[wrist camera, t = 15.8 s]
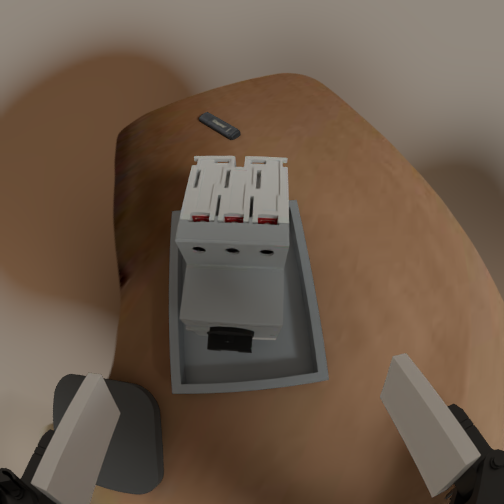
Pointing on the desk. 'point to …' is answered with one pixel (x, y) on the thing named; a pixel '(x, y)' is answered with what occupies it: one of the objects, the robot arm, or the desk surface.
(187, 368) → the tray
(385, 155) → the desk surface
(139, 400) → the media streaming box
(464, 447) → the robot arm
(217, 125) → the usb stick
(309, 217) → the desk surface
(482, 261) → the desk surface
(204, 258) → the circuit breaker
